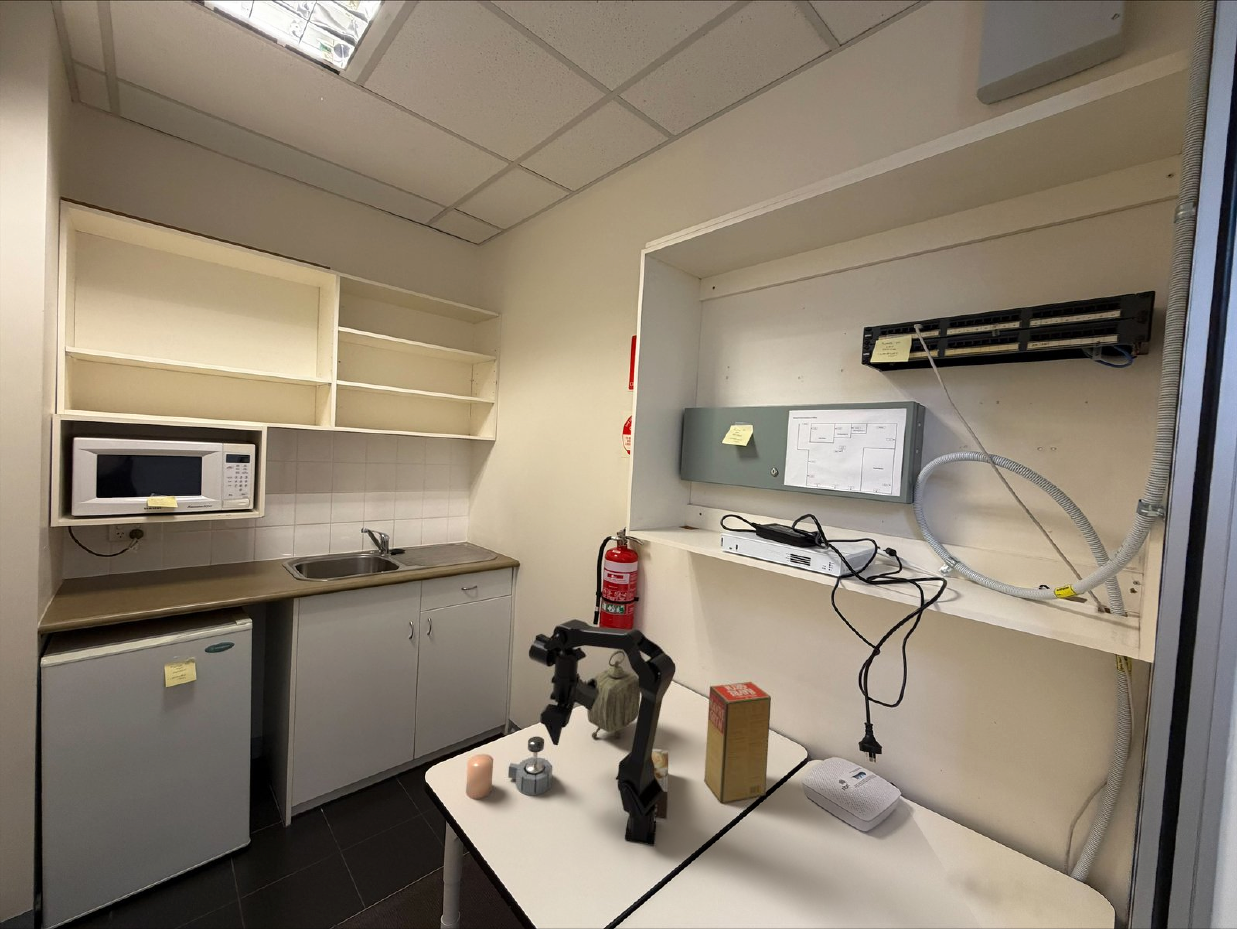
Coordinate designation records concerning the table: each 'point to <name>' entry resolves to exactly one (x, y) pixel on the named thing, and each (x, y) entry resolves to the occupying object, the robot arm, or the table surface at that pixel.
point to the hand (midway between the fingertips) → (561, 733)
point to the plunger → (535, 755)
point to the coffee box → (661, 779)
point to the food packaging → (737, 741)
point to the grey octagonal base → (531, 777)
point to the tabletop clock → (615, 699)
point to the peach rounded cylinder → (479, 776)
